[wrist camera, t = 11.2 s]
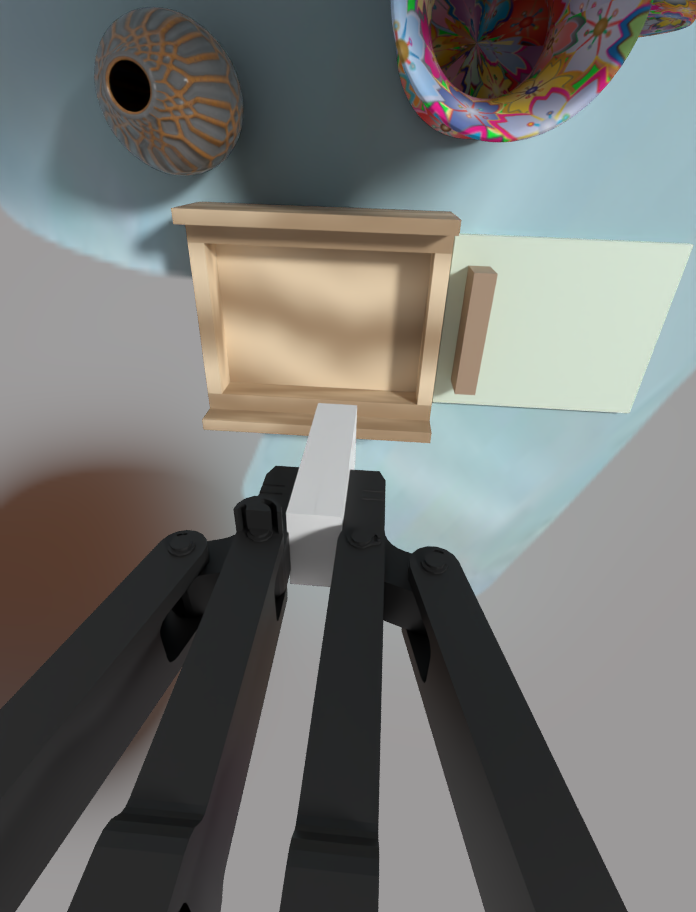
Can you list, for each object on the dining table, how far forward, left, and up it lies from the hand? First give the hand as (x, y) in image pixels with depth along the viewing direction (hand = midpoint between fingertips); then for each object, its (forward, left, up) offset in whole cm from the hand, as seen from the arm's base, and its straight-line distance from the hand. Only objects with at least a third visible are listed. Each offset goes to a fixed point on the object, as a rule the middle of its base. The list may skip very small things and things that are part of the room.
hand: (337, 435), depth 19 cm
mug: (-15, +7, -18) cm, 24 cm away
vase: (-12, -10, -18) cm, 23 cm away
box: (0, -2, -18) cm, 18 cm away
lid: (+1, +13, -18) cm, 22 cm away
